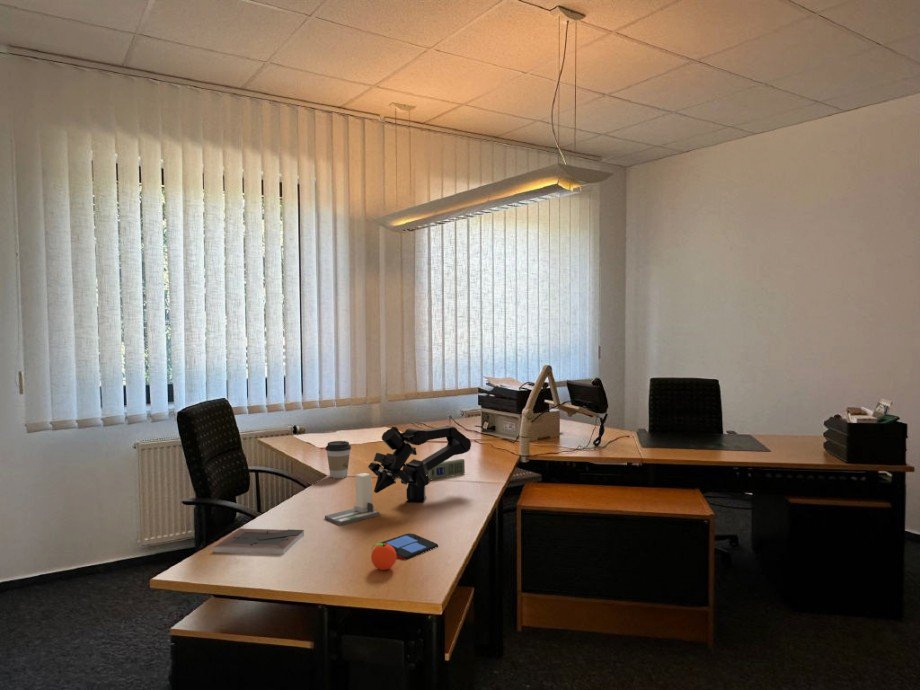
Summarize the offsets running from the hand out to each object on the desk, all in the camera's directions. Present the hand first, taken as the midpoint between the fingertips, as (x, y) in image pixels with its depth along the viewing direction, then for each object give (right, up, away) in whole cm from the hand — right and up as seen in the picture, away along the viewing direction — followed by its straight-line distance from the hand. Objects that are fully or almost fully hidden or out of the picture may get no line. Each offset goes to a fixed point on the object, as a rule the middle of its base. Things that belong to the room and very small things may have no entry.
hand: (375, 492), depth 224 cm
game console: (+15, -9, -37) cm, 41 cm away
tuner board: (-7, -7, -6) cm, 12 cm away
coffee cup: (-23, -5, +51) cm, 56 cm away
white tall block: (-3, -6, -4) cm, 7 cm away
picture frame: (-31, -9, -32) cm, 45 cm away
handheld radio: (+22, -5, +48) cm, 53 cm away
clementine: (+9, -9, -52) cm, 54 cm away
